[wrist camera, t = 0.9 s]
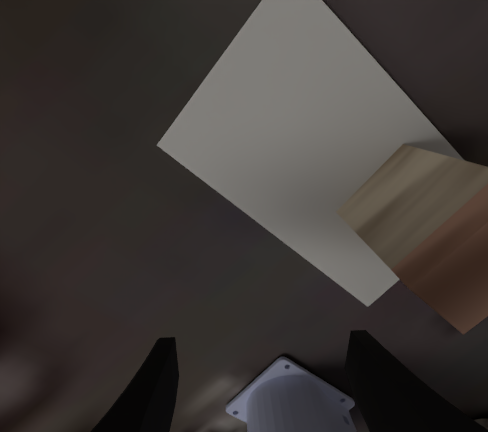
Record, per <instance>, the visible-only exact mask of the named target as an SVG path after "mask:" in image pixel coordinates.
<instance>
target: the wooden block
mask: <svg viewBox="0 0 488 432" xmlns="http://www.w3.org/2000/svg"><path fill="white" fill-rule="evenodd" d="M336 213H337V214H338V215H339V216H340V217H341V218H342V219H343V220H344V221H345V222H346V223H347V224H348V225H349V226H350V227H351V228H352V229H353V230H354V231H355V232H356V234H357V235H358V236H359V237H360V238H361V239H362V240H363V241H364V242H365V243H366V244H367V245H368V246H369V247H370V248H371V249H372V250H373V251H374V252H375V254H376V255H377V256H378V257H379V258H380V259H381V260H382V261H383V262H384V263H385V264H386V265H387V266H388V267H389V268H390V269H391V270H392V271H393V272H394V274H395V275H396V276H397V277H398V278H399V279H400V280H401V281H402V282H403V283H404V284H405V285H406V286H407V287H408V288H409V289H410V290H411V291H412V292H413V293H415V294H416V295H417V296H418V297H419V298H421V299H422V300H423V301H424V302H425V303H426V304H428V305H429V306H430V307H431V308H432V309H434V310H435V311H436V312H437V313H438V314H440V315H441V316H442V317H443V318H444V319H446V320H447V321H448V322H449V323H450V324H451V325H453V326H454V327H455V328H456V329H457V330H459V331H460V332H461V333H462V334H463V335H464V334H465V333H466V332H467V331H469V330H470V329H471V328H473V327H474V326H475V325H477V324H478V323H479V322H481V321H482V320H483V319H485V318H486V317H487V316H488V167H486V166H483V165H479V164H475V163H472V162H468V161H464V160H460V159H457V158H453V157H449V156H446V155H442V154H438V153H434V152H431V151H427V150H423V149H420V148H416V147H412V146H408V145H405V144H402V145H401V146H400V147H399V148H398V149H397V150H396V152H395V153H394V154H393V155H392V156H391V157H390V158H389V159H388V160H387V161H386V162H385V163H384V164H383V165H382V166H381V167H380V168H379V169H378V170H377V171H376V172H375V173H374V174H373V175H372V176H371V177H370V178H369V179H368V180H367V181H366V182H365V183H364V184H363V185H362V186H361V187H360V188H359V189H358V190H357V191H356V192H355V193H354V194H353V195H352V196H351V197H350V198H349V199H348V200H347V201H346V202H345V203H344V204H343V205H342V206H341V207H340V208H339V209H338V210H337V211H336Z"/></svg>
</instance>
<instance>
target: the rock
mask: <svg viewBox="0 0 488 432" xmlns="http://www.w3.org/2000/svg"><path fill="white" fill-rule="evenodd" d="M474 421H476V422H477V423H479V424H480V425H482V426H483V427H485V428H486V429H488V419H477V420H474Z"/></svg>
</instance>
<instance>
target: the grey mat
mask: <svg viewBox="0 0 488 432" xmlns="http://www.w3.org/2000/svg"><path fill="white" fill-rule="evenodd" d="M402 144H405V145H408V146H412V147H416V148H420V149H423V150H427V151H431V152H434V153H438V154H442V155H446V156H449V157H453V158H457V159H460V160H464V159H463V158H462V157H461V156H460V155H459V154H458V153H457V152H456V150H455V149H454V148H453V147H452V146H451V145H450V144H449V142H448V141H447V140H446V139H445V138H444V137H443V136H442V135H441V133H440V132H439V131H438V130H437V129H436V128H435V127H434V126H433V124H432V123H431V122H430V121H429V120H428V119H427V118H426V117H425V115H424V114H423V113H422V112H421V111H420V110H419V109H418V108H417V106H416V105H415V104H414V103H413V102H412V101H411V100H410V99H409V97H408V96H407V95H406V94H405V93H404V92H403V91H402V90H401V88H400V87H399V86H398V85H397V84H396V83H395V82H394V81H393V79H392V78H391V77H390V76H389V75H388V74H387V73H386V72H385V70H384V69H383V68H382V67H381V66H380V65H379V64H378V63H377V61H376V60H375V59H374V58H373V57H372V56H371V55H370V54H369V52H368V51H367V50H366V49H365V48H364V47H363V46H362V45H361V43H360V42H359V41H358V40H357V39H356V38H355V37H354V36H353V34H352V33H351V32H350V31H349V30H348V29H347V28H346V27H345V25H344V24H343V23H342V22H341V21H340V20H339V19H338V18H337V16H336V15H335V14H334V13H333V12H332V11H331V10H330V9H329V7H328V6H327V5H326V4H325V3H324V2H323V1H322V0H262V1H261V2H260V4H259V5H258V7H257V8H256V9H255V11H254V12H253V13H252V15H251V16H250V18H249V19H248V20H247V22H246V23H245V24H244V26H243V27H242V29H241V30H240V31H239V33H238V34H237V36H236V37H235V38H234V40H233V41H232V42H231V44H230V45H229V47H228V48H227V49H226V51H225V52H224V53H223V55H222V56H221V58H220V59H219V60H218V62H217V63H216V64H215V66H214V67H213V69H212V70H211V71H210V73H209V74H208V75H207V77H206V78H205V80H204V81H203V82H202V84H201V85H200V86H199V88H198V89H197V91H196V92H195V93H194V95H193V96H192V98H191V99H190V100H189V102H188V103H187V104H186V106H185V107H184V109H183V110H182V111H181V113H180V114H179V115H178V117H177V118H176V120H175V121H174V122H173V124H172V125H171V126H170V128H169V129H168V131H167V132H166V133H165V135H164V136H163V137H162V139H161V140H160V142H159V143H158V144H157V146H158V147H160V148H161V149H162V150H164V151H165V152H166V153H168V154H169V155H170V156H172V157H173V158H174V159H175V160H177V161H178V162H179V163H181V164H182V165H183V166H185V167H186V168H187V169H189V170H190V171H191V172H192V173H194V174H195V175H196V176H198V177H199V178H200V179H202V180H203V181H204V182H206V183H207V184H208V185H209V186H211V187H212V188H213V189H215V190H216V191H217V192H219V193H220V194H221V195H223V196H224V197H225V198H226V199H228V200H229V201H230V202H232V203H233V204H234V205H236V206H237V207H238V208H240V209H241V210H242V211H243V212H245V213H246V214H247V215H249V216H250V217H251V218H253V219H254V220H255V221H257V222H258V223H259V224H260V225H262V226H263V227H264V228H266V229H267V230H268V231H270V232H271V233H272V234H274V235H275V236H276V237H277V238H279V239H280V240H281V241H283V242H284V243H285V244H287V245H288V246H289V247H291V248H292V249H293V250H294V251H296V252H297V253H298V254H300V255H301V256H302V257H304V258H305V259H306V260H308V261H309V262H310V263H311V264H313V265H314V266H315V267H317V268H318V269H319V270H321V271H322V272H323V273H325V274H326V275H327V276H328V277H330V278H331V279H332V280H334V281H335V282H336V283H338V284H339V285H340V286H342V287H343V288H344V289H345V290H347V291H348V292H349V293H351V294H352V295H353V296H355V297H356V298H357V299H359V300H360V301H361V302H362V303H364V304H365V305H366V306H370V305H371V304H372V303H373V302H374V301H375V300H376V299H378V298H379V297H380V296H381V295H382V294H383V293H384V292H386V291H387V290H388V289H389V288H390V287H391V286H392V285H394V284H395V283H396V282H397V281H398V280H399V278H398V277H397V276H396V275H395V274H394V272H393V271H392V270H391V269H390V268H389V267H388V266H387V265H386V264H385V263H384V262H383V261H382V260H381V259H380V258H379V257H378V256H377V255H376V254H375V252H374V251H373V250H372V249H371V248H370V247H369V246H368V245H367V244H366V243H365V242H364V241H363V240H362V239H361V238H360V237H359V236H358V235H357V234H356V232H355V231H354V230H353V229H352V228H351V227H350V226H349V225H348V224H347V223H346V222H345V221H344V220H343V219H342V218H341V217H340V216H339V215H338V214H337V213H336V211H337V210H338V209H339V208H340V207H341V206H342V205H343V204H344V203H345V202H346V201H347V200H348V199H349V198H350V197H351V196H352V195H353V194H354V193H355V192H356V191H357V190H358V189H359V188H360V187H361V186H362V185H363V184H364V183H365V182H366V181H367V180H368V179H369V178H370V177H371V176H372V175H373V174H374V173H375V172H376V171H377V170H378V169H379V168H380V167H381V166H382V165H383V164H384V163H385V162H386V161H387V160H388V159H389V158H390V157H391V156H392V155H393V154H394V153H395V152H396V150H397V149H398V148H399V147H400V146H401V145H402Z"/></svg>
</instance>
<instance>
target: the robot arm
mask: <svg viewBox="0 0 488 432" xmlns="http://www.w3.org/2000/svg"><path fill="white" fill-rule="evenodd" d="M345 370H346V374H347V377H348V380H349V383H350V386H351V389H352V392H353V395H354V397H355V400H356V402H357V404H358V406H359V409H360V411H361V413H362V415H363V418H364V420H365V422H366V424H367V426H368V429H369V431H370V432H488V429H486V428H485V427H483V426H482V425H480V424H479V423H477V422H476V421H474V420H473V419H471V418H470V417H468V416H467V415H466V414H464V413H463V412H462V411H460V410H459V409H457V408H456V407H455V406H453V405H452V404H450V403H449V402H448V401H446V400H445V399H444V398H442V397H441V396H440V395H439V394H437V393H436V392H435V391H434V390H432V389H431V388H430V387H429V386H427V385H426V384H425V383H424V382H422V381H421V380H420V379H419V378H418V377H417V376H415V375H414V374H413V373H412V372H411V371H410V370H408V369H407V368H406V367H405V366H404V365H403V364H402V363H401V362H399V361H398V360H397V359H396V358H395V357H394V356H393V355H392V354H391V353H390V352H388V351H387V350H386V349H385V348H384V347H383V346H382V345H381V344H380V343H379V342H378V341H377V340H376V339H374V338H373V337H372V336H371V335H370V334H369V333H368V332H367V331H366V330H358V331H351V334H350V340H349V345H348V351H347V357H346V363H345ZM178 379H179V371H178V361H177V351H176V342H175V337H170V338H159V339H158V340H157V341H156V343H155V345H154V347H153V348H152V350H151V352H150V353H149V355H148V356H147V358H146V360H145V361H144V363H143V364H142V366H141V367H140V369H139V370H138V372H137V373H136V375H135V376H134V377H133V379H132V380H131V382H130V383H129V385H128V386H127V387H126V389H125V390H124V391H123V393H122V394H121V395H120V397H119V398H118V399H117V400H116V402H115V403H114V404H113V406H112V407H111V408H110V409H109V411H108V412H107V413H106V414H105V416H104V417H103V418H102V419H101V420H100V421H99V423H98V424H97V425H96V426H95V427H94V428H93V429H92V431H91V432H169V431H170V426H171V422H172V417H173V413H174V408H175V403H176V396H177V388H178ZM354 405H355V402H354V400H353V399H352V398H351V397H349V396H348V395H346V394H344V393H343V392H341V391H340V390H338V389H336V388H335V387H333V386H331V385H330V384H328V383H327V382H325V381H323V380H322V379H320V378H319V377H317V376H315V375H314V374H312V373H311V372H309V371H307V370H306V369H304V368H303V367H301V366H299V365H298V364H296V363H294V362H293V361H291V360H290V359H288V358H286V357H280V358H278V359H277V360H276V361H275V362H274V363H273V364H272V365H270V366H269V367H268V368H267V369H266V370H265V371H264V372H263V373H262V374H260V375H259V376H258V377H257V378H256V379H255V380H254V381H253V382H252V383H251V384H249V385H248V386H247V387H246V388H245V389H244V390H243V391H242V392H241V393H239V394H238V395H237V396H236V397H235V398H234V399H233V400H232V401H231V402H230V403H228V404H227V405H226V412H227V413H228V414H230V415H232V416H234V417H236V418H238V419H240V420H242V421H244V422H246V423H247V431H248V432H357V431H356V428H355V426H354V423H353V421H352V418H351V416H350V413H349V410H350V409H351V408H352V407H354Z"/></svg>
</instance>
